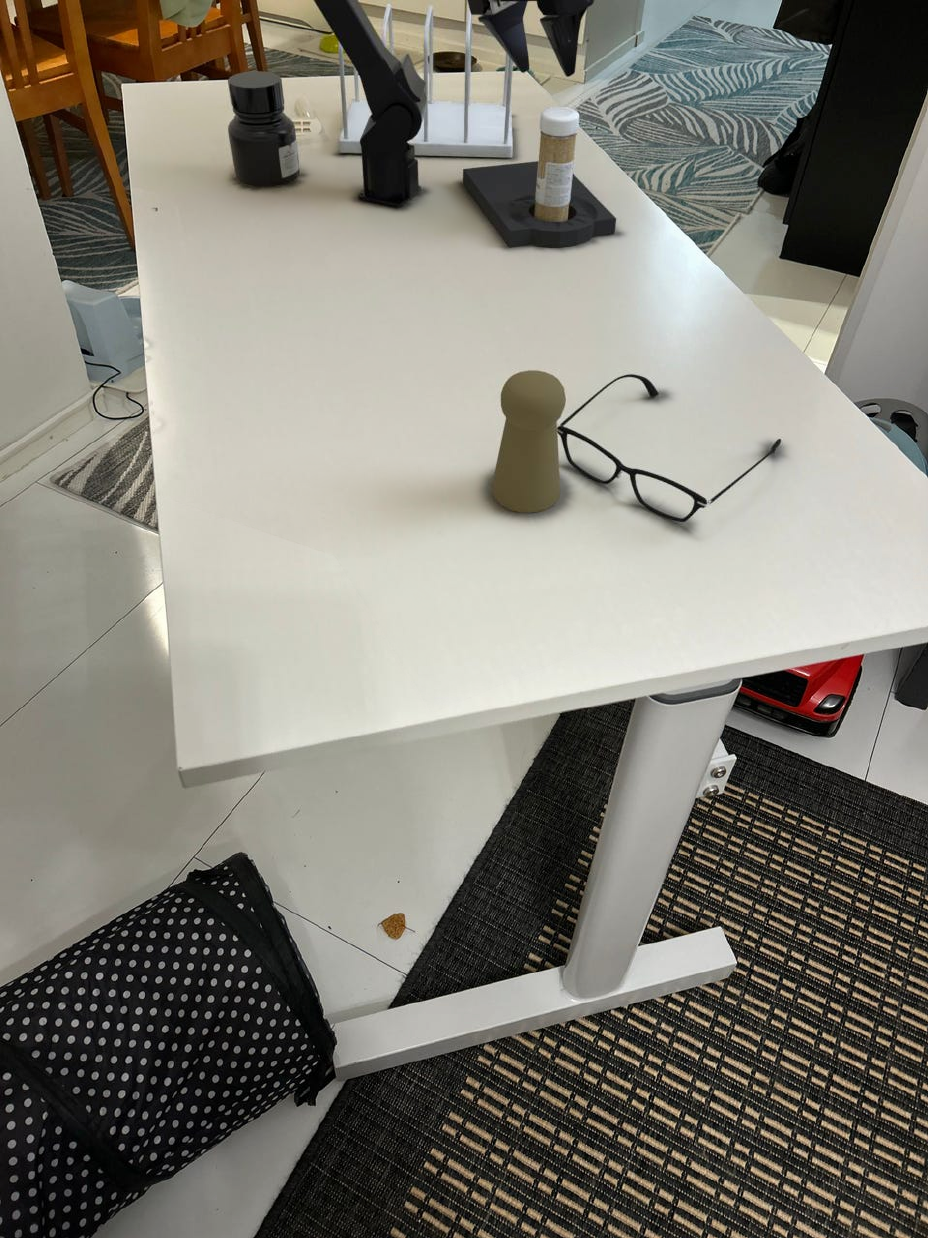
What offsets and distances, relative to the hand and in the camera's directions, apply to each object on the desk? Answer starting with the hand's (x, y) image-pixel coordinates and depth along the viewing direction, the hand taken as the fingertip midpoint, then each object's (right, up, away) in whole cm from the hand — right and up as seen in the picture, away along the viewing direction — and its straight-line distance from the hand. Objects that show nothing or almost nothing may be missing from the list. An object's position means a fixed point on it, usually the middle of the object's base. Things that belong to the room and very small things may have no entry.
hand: (547, 73), depth 109 cm
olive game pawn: (-5, -55, -30) cm, 63 cm away
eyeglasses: (+9, -51, -26) cm, 58 cm away
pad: (-1, -12, +10) cm, 15 cm away
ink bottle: (-37, -5, +16) cm, 41 cm away
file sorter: (-15, +7, +28) cm, 32 cm away
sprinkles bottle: (+1, -16, +6) cm, 17 cm away
